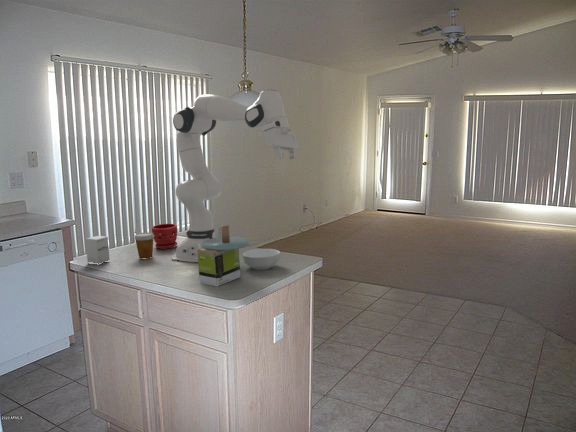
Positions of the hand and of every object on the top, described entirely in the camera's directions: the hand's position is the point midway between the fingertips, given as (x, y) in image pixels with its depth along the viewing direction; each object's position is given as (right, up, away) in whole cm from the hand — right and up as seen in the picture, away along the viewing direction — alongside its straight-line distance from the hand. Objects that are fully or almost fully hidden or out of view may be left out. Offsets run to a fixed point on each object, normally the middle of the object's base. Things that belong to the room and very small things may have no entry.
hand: (287, 159), depth 200 cm
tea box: (-28, -50, +5) cm, 58 cm away
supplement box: (-91, -46, +37) cm, 109 cm away
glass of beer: (-71, -44, +44) cm, 94 cm away
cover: (-26, -35, +5) cm, 44 cm away
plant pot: (-66, -40, +66) cm, 101 cm away
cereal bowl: (-12, -47, +22) cm, 53 cm away
